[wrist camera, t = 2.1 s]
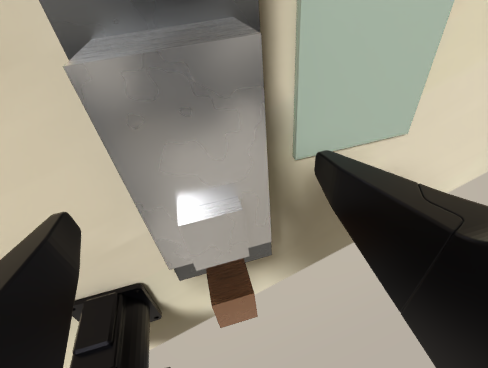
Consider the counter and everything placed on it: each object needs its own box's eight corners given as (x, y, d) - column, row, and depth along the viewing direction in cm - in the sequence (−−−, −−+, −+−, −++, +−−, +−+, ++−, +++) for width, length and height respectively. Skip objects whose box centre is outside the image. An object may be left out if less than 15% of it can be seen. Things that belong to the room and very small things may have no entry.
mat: (403, 130, 20) (407, 133, 20) (292, 156, 19) (295, 160, 18) (460, -41, 13) (468, -42, 13) (297, -18, 12) (301, -18, 12)
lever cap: (252, 195, 15) (277, 254, 12) (167, 216, 15) (169, 285, 11) (233, 16, 10) (270, 38, 6) (91, 39, 9) (52, 76, 6)
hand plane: (258, 221, 22) (292, 305, 17) (177, 243, 21) (183, 339, 16) (213, -247, 8) (339, -758, 2) (-33, -241, 7) (-730, -1016, 2)
